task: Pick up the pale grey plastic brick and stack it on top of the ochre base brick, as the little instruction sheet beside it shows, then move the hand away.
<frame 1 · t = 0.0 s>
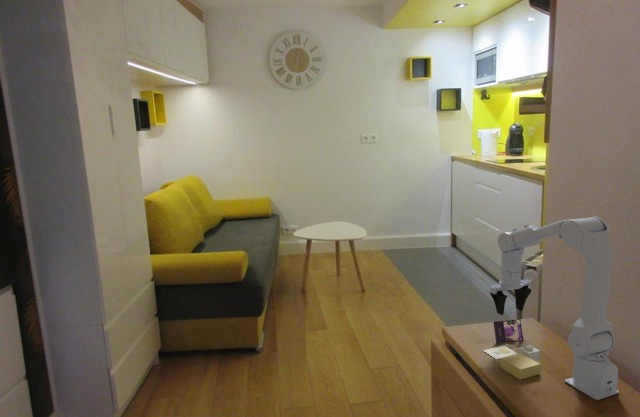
hand: (509, 311, 141), 10 cm above the table, fingers open, 7 cm apart
top brick: (528, 361, 131), on the table
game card: (506, 339, 145), on the table
base brick: (520, 370, 126), on the table
instruction sheet: (500, 352, 136), on the table
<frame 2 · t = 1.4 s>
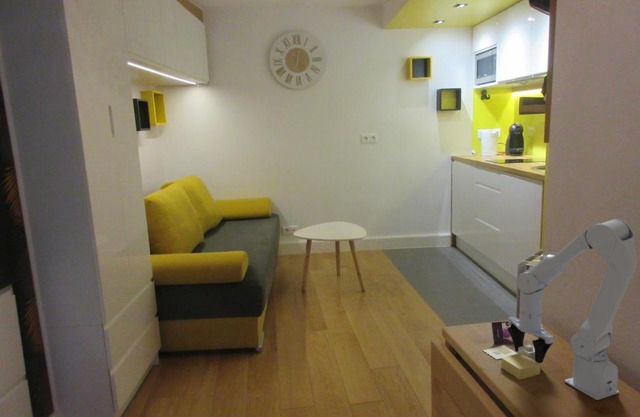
hand: (528, 356, 130), 2 cm above the table, fingers open, 7 cm apart
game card: (504, 340, 144), on the table
everything else where it was.
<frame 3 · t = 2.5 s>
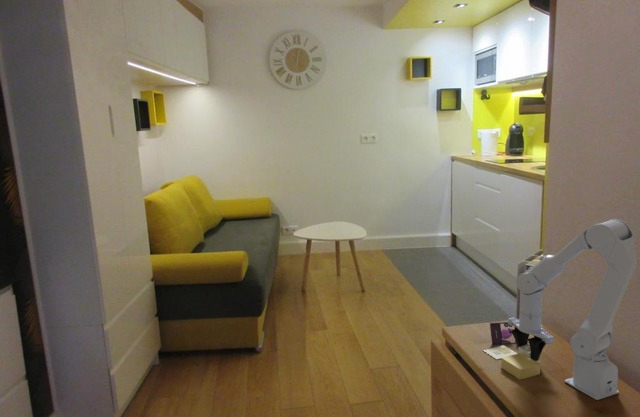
hand: (528, 356, 130), 1 cm above the table, fingers closed on top brick, 4 cm apart
top brick: (528, 361, 131), on the table, touching gripper
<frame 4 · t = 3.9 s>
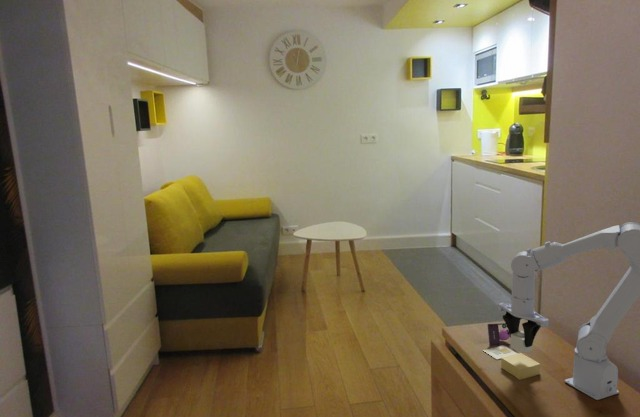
hand: (521, 342, 124), 8 cm above the table, fingers closed on top brick, 4 cm apart
top brick: (521, 348, 125), point 7 cm above the table, touching gripper
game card: (501, 343, 143), on the table
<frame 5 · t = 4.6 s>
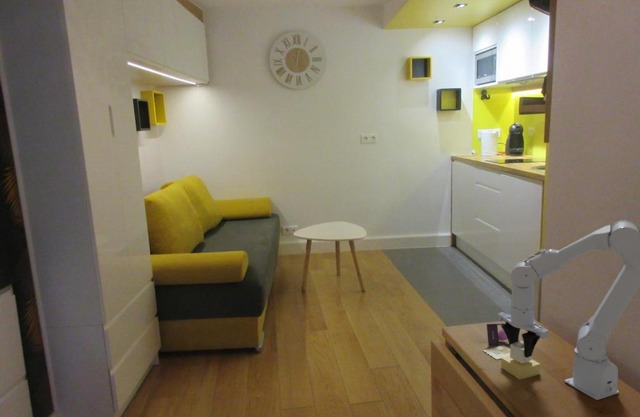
hand: (520, 352, 125), 5 cm above the table, fingers closed on top brick, 4 cm apart
top brick: (521, 358, 125), point 4 cm above the table, touching gripper
when the fingers open (5 cm above the table, at t = 5.2 s): top brick stays where it is, resting on base brick.
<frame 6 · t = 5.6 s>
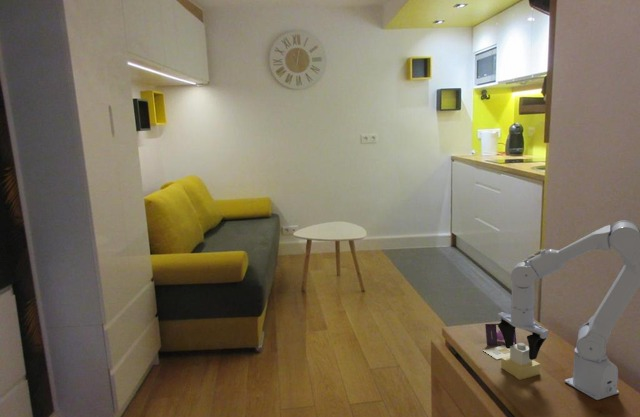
hand: (520, 352, 125), 5 cm above the table, fingers open, 7 cm apart
top brick: (520, 360, 125), point 3 cm above the table, touching base brick
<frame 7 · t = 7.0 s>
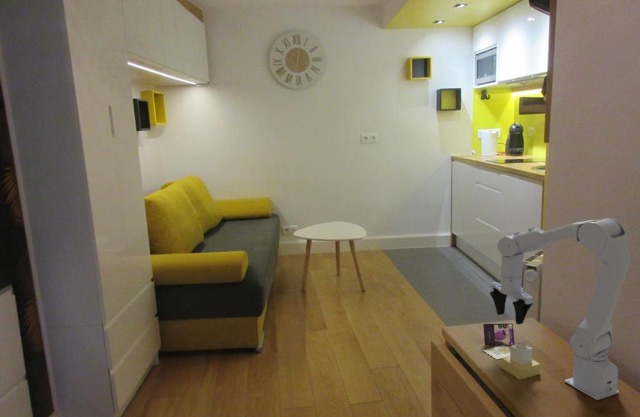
hand: (509, 318, 135), 11 cm above the table, fingers open, 7 cm apart
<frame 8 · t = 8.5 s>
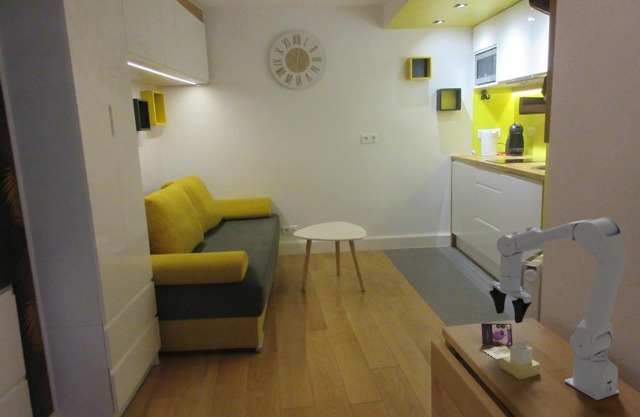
hand: (509, 317, 136), 10 cm above the table, fingers open, 7 cm apart
at the end: top brick 0.1 cm off-centre on the base brick, point 3.0 cm above the base brick's base; top brick tilted 0°; the gripper is holding nothing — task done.
